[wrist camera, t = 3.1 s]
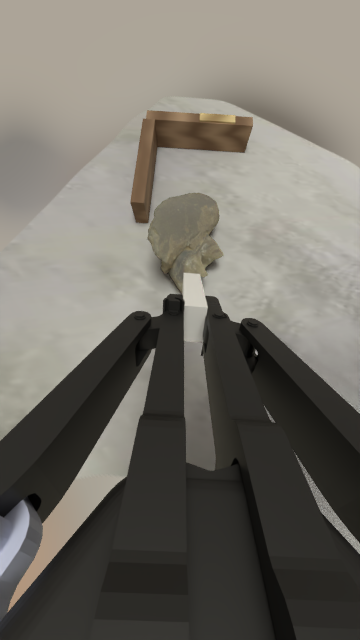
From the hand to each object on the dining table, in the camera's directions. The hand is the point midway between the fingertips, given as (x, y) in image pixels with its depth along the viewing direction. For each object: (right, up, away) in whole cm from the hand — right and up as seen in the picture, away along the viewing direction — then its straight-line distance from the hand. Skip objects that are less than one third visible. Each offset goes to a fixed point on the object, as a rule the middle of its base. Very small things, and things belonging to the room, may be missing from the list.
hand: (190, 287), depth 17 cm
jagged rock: (+1, +8, +13) cm, 15 cm away
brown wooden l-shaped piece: (+2, +22, +16) cm, 27 cm away
